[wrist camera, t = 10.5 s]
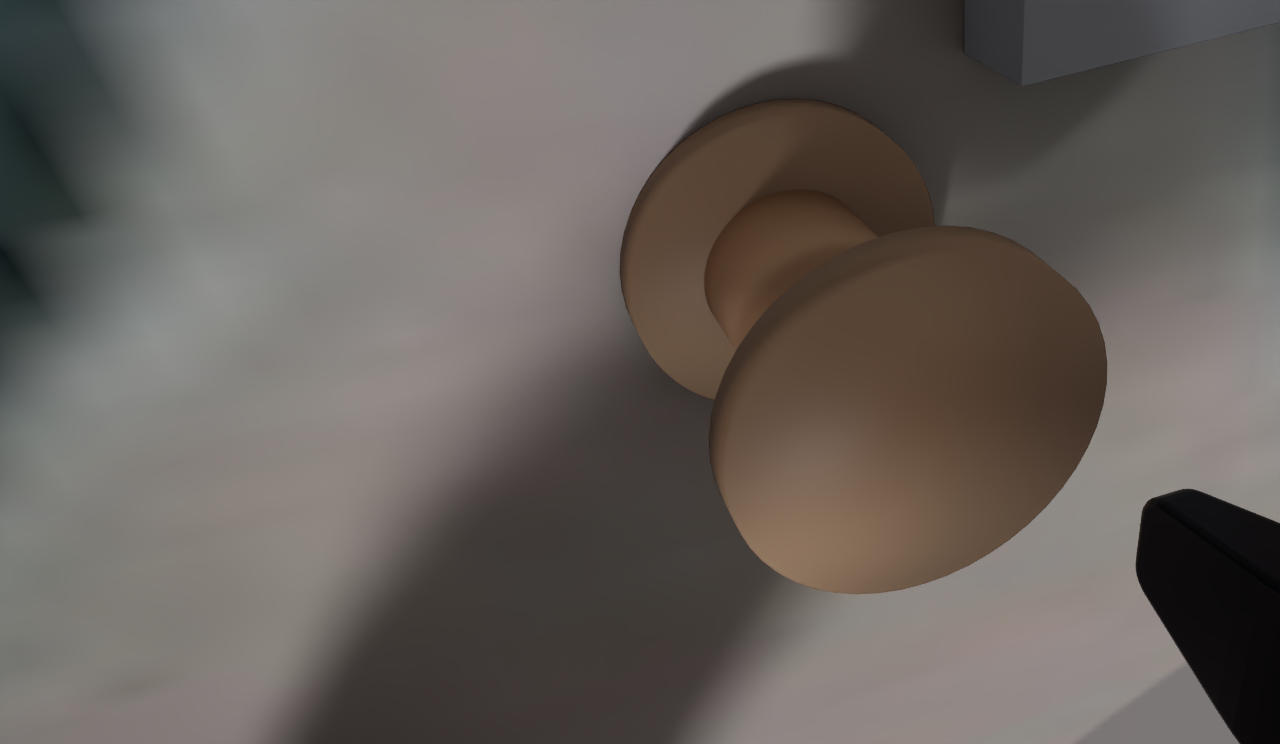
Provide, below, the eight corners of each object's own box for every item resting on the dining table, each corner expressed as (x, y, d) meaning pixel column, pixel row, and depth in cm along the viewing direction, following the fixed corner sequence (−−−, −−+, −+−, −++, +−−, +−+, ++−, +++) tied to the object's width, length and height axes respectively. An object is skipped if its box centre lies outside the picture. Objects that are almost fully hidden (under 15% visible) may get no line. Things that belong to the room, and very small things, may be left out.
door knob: (917, 341, 24) (1092, 532, 19) (644, 417, 23) (747, 638, 18) (913, 65, 21) (1123, 202, 16) (594, 142, 20) (702, 315, 15)
